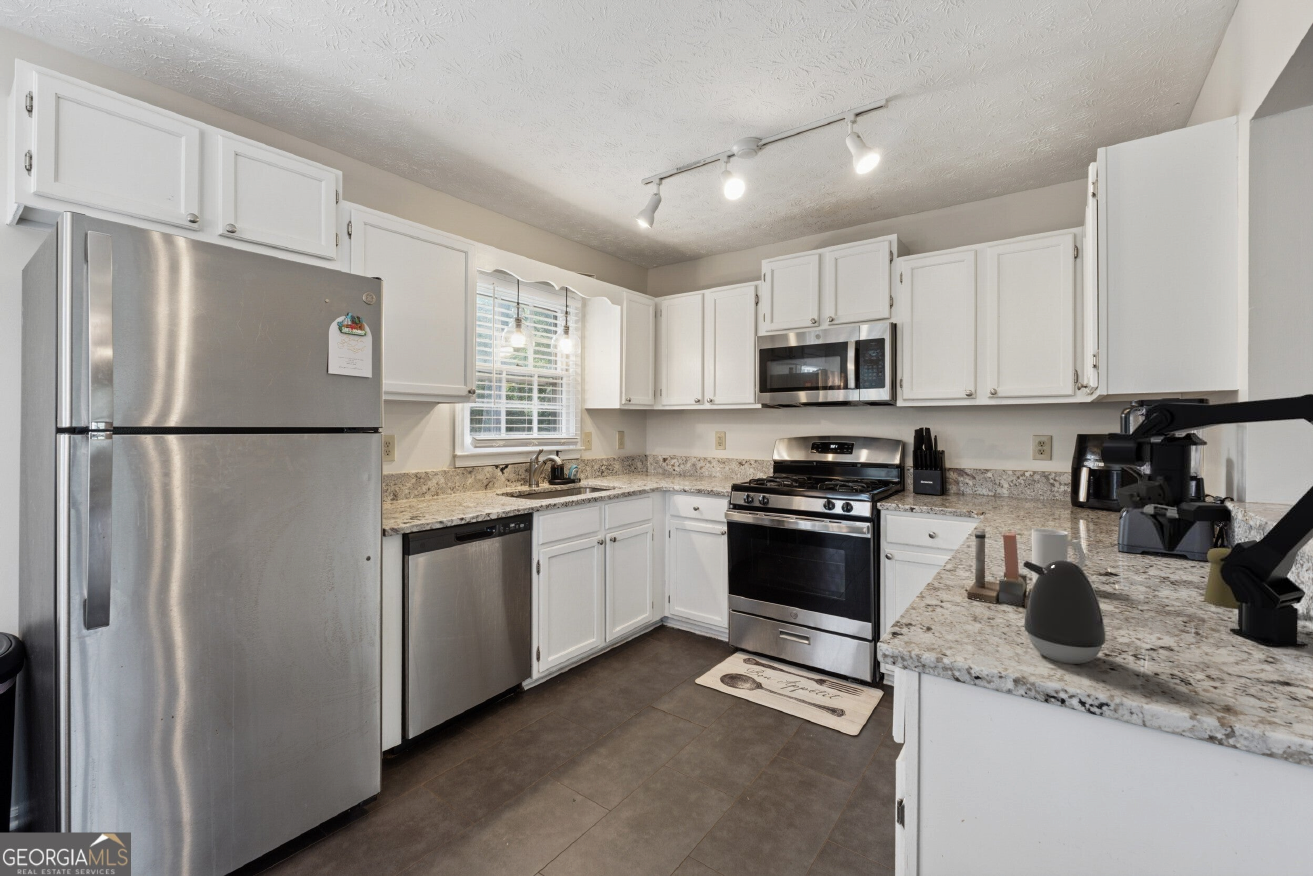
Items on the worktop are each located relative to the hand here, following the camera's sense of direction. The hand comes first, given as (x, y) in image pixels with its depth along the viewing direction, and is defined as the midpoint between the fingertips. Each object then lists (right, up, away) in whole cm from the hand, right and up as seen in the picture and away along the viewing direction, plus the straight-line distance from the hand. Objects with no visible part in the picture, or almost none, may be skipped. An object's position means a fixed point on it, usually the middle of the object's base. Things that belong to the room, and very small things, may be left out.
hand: (1169, 551), depth 105 cm
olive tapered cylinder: (+17, -12, +6) cm, 21 cm away
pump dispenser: (-33, -13, -18) cm, 40 cm away
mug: (-7, -12, +19) cm, 24 cm away
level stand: (-23, -12, +10) cm, 28 cm away
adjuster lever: (-23, -11, +10) cm, 28 cm away
